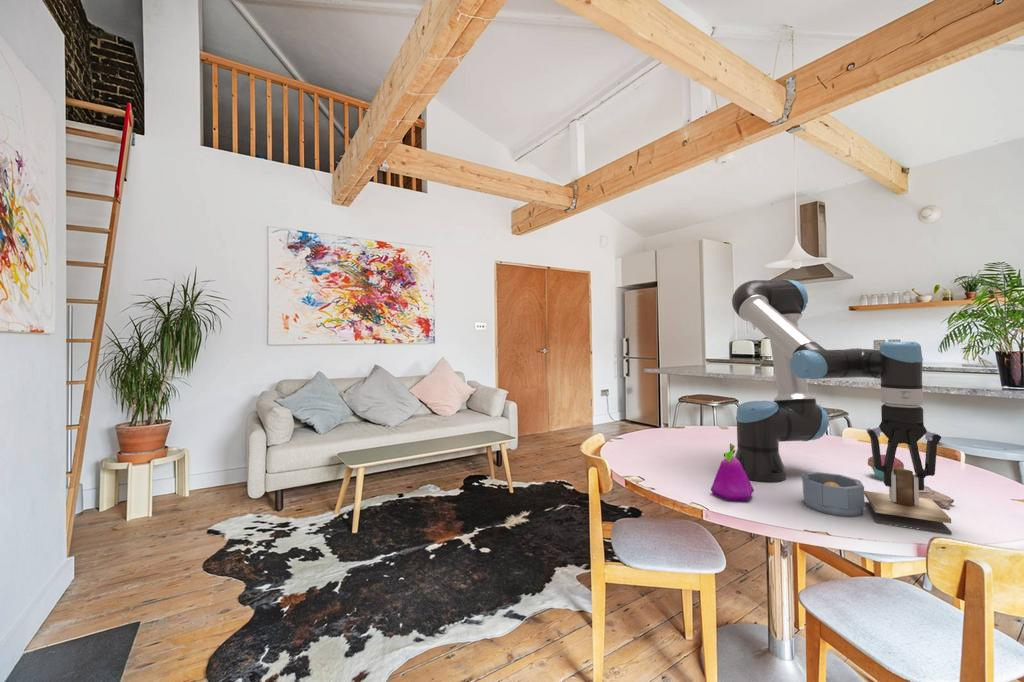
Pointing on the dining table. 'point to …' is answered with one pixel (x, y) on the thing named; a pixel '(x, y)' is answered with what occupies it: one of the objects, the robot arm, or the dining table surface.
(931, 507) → the board
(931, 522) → the mat
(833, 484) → the clementine
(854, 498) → the bowl
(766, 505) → the dining table surface
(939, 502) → the stone
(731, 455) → the purple eggplant
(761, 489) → the dining table surface
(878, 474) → the cupcake
